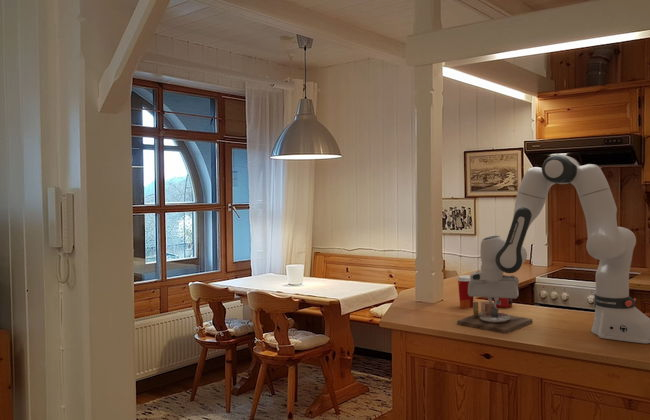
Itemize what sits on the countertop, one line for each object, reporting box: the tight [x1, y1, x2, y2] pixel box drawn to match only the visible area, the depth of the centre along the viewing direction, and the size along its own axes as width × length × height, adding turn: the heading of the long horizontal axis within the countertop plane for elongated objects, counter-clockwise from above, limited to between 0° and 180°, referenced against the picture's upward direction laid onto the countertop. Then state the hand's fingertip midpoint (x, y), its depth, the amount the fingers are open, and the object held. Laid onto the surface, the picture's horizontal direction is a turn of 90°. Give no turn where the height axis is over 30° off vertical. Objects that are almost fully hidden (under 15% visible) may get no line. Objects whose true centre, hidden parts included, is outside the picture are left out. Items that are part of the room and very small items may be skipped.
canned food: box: [493, 298, 513, 309], centre depth 261 cm, size 8×8×11 cm
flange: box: [479, 301, 510, 323], centre depth 236 cm, size 15×12×5 cm
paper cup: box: [456, 274, 474, 309], centre depth 262 cm, size 8×8×14 cm
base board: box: [456, 301, 533, 335], centre depth 234 cm, size 22×20×8 cm
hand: (493, 307), depth 241 cm, fingers closed
